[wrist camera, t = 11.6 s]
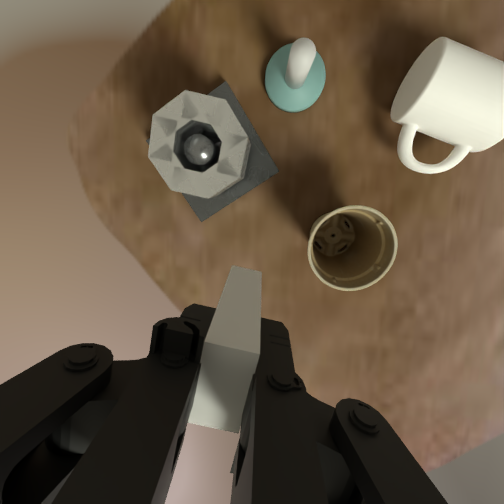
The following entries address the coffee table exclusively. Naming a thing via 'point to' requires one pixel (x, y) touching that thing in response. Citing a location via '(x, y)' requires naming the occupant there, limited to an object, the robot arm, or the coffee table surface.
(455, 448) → the coffee table surface
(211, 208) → the hub
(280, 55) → the stand
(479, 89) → the mug
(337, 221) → the flower pot
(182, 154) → the collar
